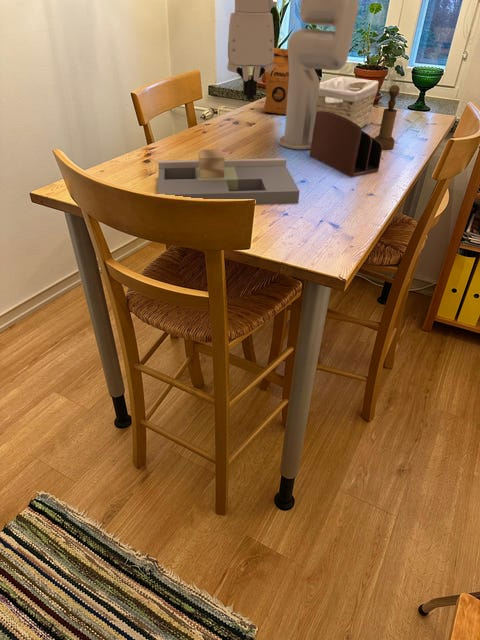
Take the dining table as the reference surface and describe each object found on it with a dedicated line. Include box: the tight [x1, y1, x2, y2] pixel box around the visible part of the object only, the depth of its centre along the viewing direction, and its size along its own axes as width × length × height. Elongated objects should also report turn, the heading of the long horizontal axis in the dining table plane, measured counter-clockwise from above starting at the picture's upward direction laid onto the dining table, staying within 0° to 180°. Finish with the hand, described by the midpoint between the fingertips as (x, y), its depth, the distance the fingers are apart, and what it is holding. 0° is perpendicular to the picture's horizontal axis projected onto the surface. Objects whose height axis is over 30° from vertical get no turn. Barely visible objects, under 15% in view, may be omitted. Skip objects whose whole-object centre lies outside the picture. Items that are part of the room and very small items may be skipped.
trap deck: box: [156, 157, 300, 205], centre depth 118 cm, size 34×19×4 cm, turn 97°
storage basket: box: [317, 75, 379, 129], centre depth 161 cm, size 24×16×15 cm
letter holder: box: [309, 111, 383, 178], centre depth 132 cm, size 10×20×14 cm, turn 29°
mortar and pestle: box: [373, 84, 401, 151], centre depth 144 cm, size 7×6×18 cm
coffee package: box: [263, 47, 289, 116], centre depth 174 cm, size 10×12×22 cm
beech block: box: [198, 149, 225, 178], centre depth 118 cm, size 6×6×5 cm
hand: (249, 98), depth 110 cm, fingers closed
